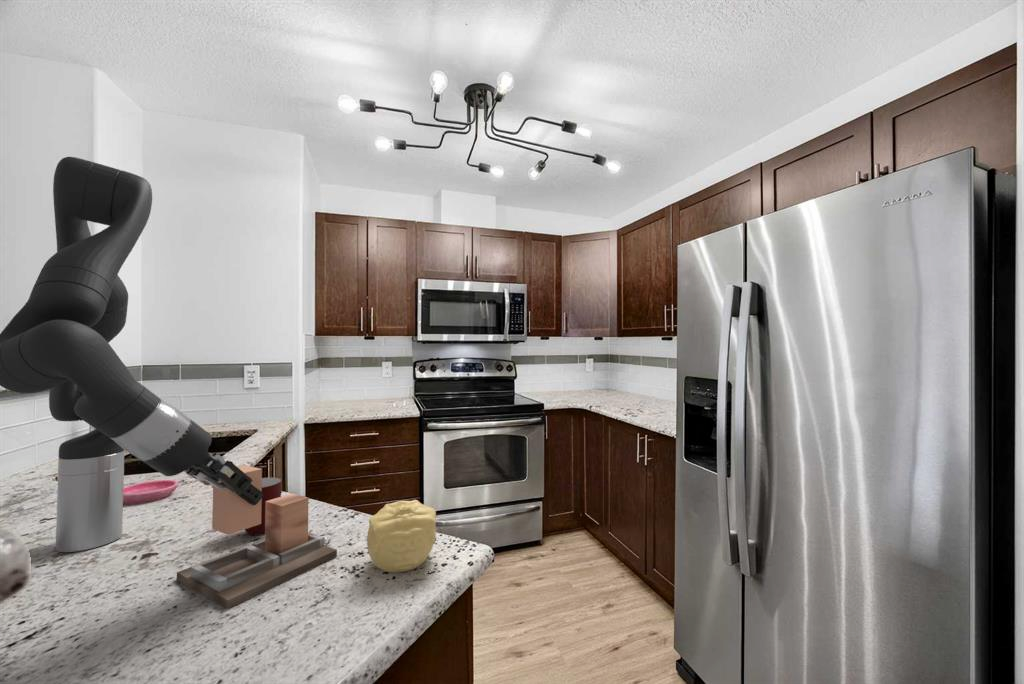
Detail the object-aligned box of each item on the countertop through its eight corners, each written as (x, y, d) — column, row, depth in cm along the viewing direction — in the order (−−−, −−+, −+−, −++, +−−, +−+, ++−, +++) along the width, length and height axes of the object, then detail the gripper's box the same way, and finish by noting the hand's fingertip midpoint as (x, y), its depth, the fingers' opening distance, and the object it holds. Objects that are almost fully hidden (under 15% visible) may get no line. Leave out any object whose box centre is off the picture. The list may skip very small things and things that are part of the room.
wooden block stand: (176, 579, 67) (178, 516, 68) (284, 538, 83) (285, 486, 83) (227, 609, 59) (229, 536, 60) (336, 556, 75) (337, 499, 75)
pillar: (212, 528, 67) (213, 472, 67) (244, 518, 71) (245, 465, 72) (228, 534, 65) (229, 476, 65) (261, 523, 69) (262, 468, 69)
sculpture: (370, 588, 65) (370, 517, 65) (364, 555, 76) (364, 495, 76) (442, 572, 69) (442, 506, 70) (427, 543, 80) (427, 486, 81)
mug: (229, 548, 79) (230, 494, 79) (215, 537, 84) (216, 487, 84) (287, 530, 87) (288, 481, 87) (271, 520, 92) (272, 475, 92)
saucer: (189, 492, 113) (190, 480, 113) (139, 508, 101) (139, 495, 101) (154, 489, 116) (154, 478, 116) (101, 505, 104) (101, 492, 104)
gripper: (209, 419, 59) (290, 483, 69) (164, 413, 66) (243, 472, 76) (162, 465, 54) (256, 526, 64) (119, 454, 61) (210, 511, 71)
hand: (249, 497), depth 70 cm, fingers closed on pillar, 5 cm apart
